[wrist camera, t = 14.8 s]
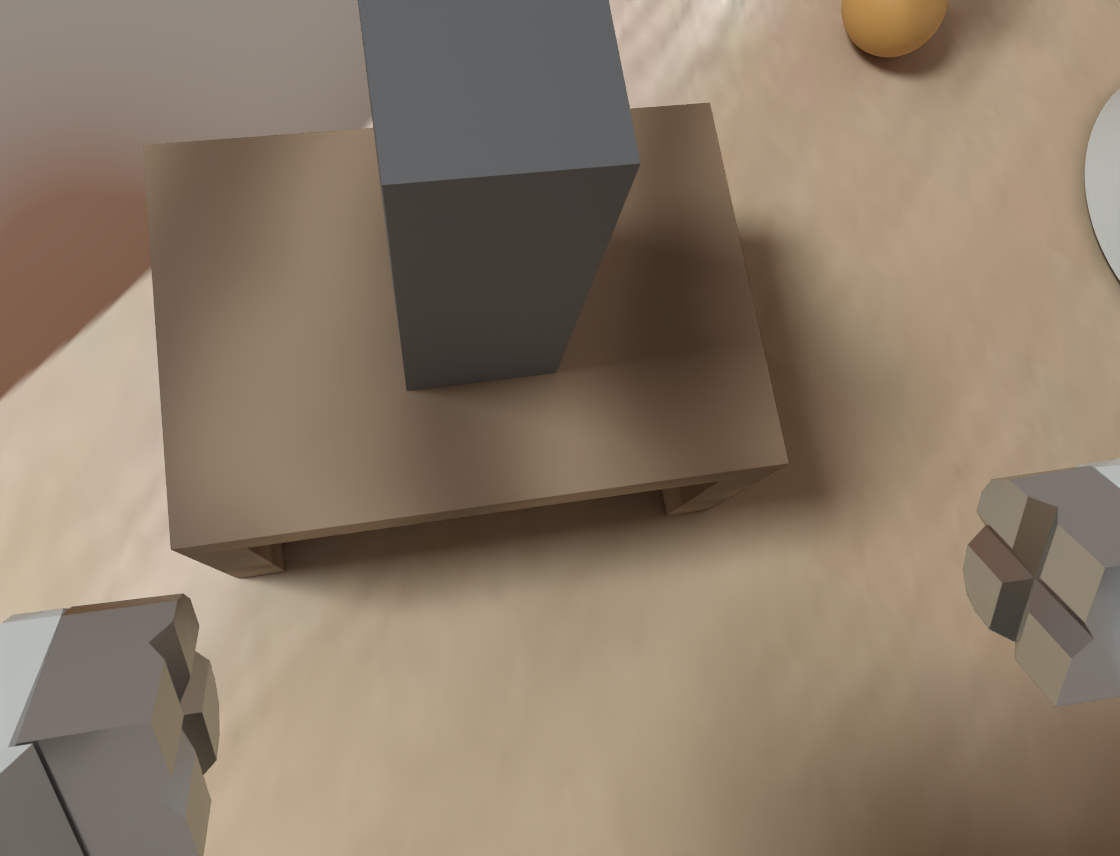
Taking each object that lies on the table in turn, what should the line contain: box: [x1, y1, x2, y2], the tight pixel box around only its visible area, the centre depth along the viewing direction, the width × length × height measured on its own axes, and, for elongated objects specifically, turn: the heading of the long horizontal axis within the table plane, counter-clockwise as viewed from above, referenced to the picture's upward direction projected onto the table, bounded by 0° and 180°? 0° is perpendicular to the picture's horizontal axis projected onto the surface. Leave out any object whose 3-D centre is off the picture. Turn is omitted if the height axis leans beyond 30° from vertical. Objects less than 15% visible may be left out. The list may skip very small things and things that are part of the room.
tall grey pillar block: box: [358, 0, 641, 391], centre depth 20 cm, size 4×5×11 cm
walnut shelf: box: [143, 103, 789, 578], centre depth 29 cm, size 16×11×8 cm
